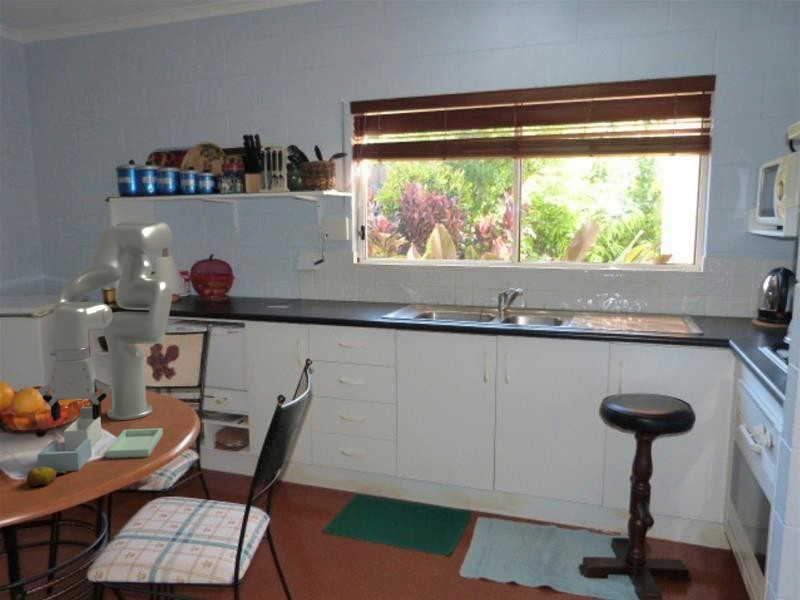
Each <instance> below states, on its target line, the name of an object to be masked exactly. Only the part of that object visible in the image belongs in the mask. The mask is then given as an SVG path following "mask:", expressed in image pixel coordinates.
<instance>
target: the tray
mask: <svg viewBox="0 0 800 600" xmlns="http://www.w3.org/2000/svg"><path fill="white" fill-rule="evenodd" d="M163 430H164V429H163V428H162V427H161V428H160V427H158V428H137V429H133V428H132V429H123V430H122V432H120V434H119V436H117V437H116V439H115V440H114V441H113V443H112V444H111V445H110V446H109V447H108V448H107V450H106V453H105V454H106V459H107V460H108V459H129V458H128V457H131V458H143V457H144V458H147V457H150V456H151V454H152V453H153V451H154V450H155V448H156V446H157V445H158V443H159V442H160V440H161V438H162V437H163V436H164V433H163V432H164V431H163Z"/></svg>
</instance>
